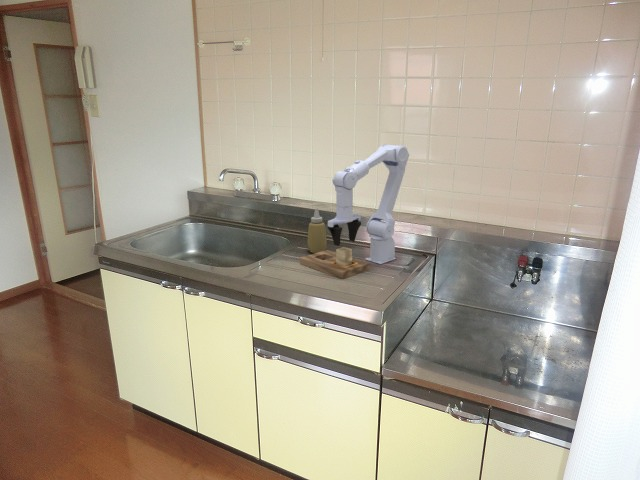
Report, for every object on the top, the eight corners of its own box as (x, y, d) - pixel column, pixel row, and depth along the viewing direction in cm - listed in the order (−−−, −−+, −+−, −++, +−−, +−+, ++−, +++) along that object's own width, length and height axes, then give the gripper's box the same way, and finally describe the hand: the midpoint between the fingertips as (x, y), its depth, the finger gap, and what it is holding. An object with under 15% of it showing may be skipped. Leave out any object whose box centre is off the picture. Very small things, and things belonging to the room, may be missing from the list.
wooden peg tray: (327, 255, 189) (327, 249, 188) (369, 269, 173) (369, 262, 172) (300, 263, 180) (299, 256, 180) (342, 279, 164) (342, 271, 163)
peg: (344, 267, 176) (343, 246, 173) (351, 270, 173) (351, 249, 171) (336, 270, 173) (336, 249, 171) (344, 272, 170) (344, 251, 168)
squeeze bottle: (304, 253, 193) (303, 210, 188) (312, 248, 200) (311, 206, 195) (322, 255, 190) (322, 211, 185) (330, 249, 197) (329, 207, 192)
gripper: (350, 201, 174) (350, 236, 177) (321, 207, 164) (322, 244, 168) (365, 203, 168) (364, 240, 172) (335, 210, 159) (335, 248, 163)
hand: (344, 242), depth 170 cm, fingers open, 7 cm apart
